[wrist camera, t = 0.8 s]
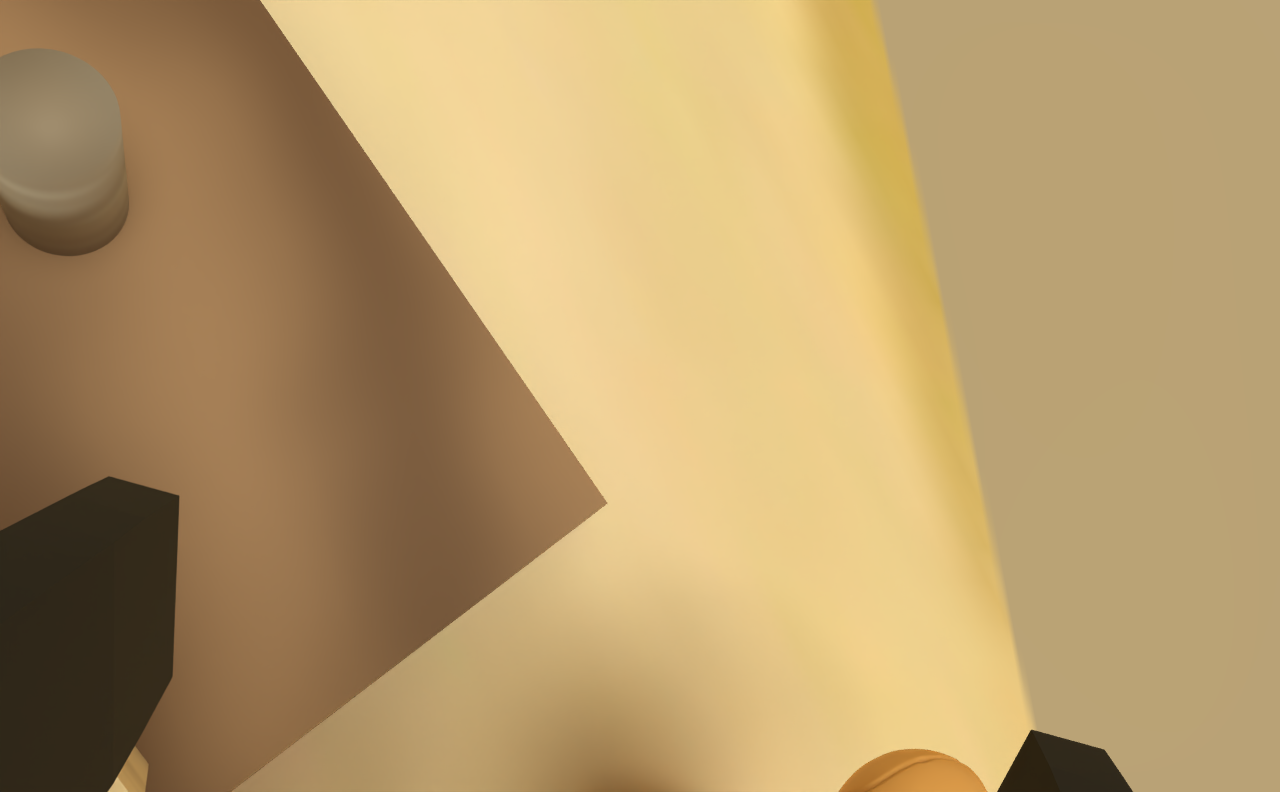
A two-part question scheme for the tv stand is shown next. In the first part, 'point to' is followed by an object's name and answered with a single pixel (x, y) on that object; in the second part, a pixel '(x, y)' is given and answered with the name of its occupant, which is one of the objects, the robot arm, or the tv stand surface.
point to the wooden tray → (250, 367)
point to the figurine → (914, 774)
